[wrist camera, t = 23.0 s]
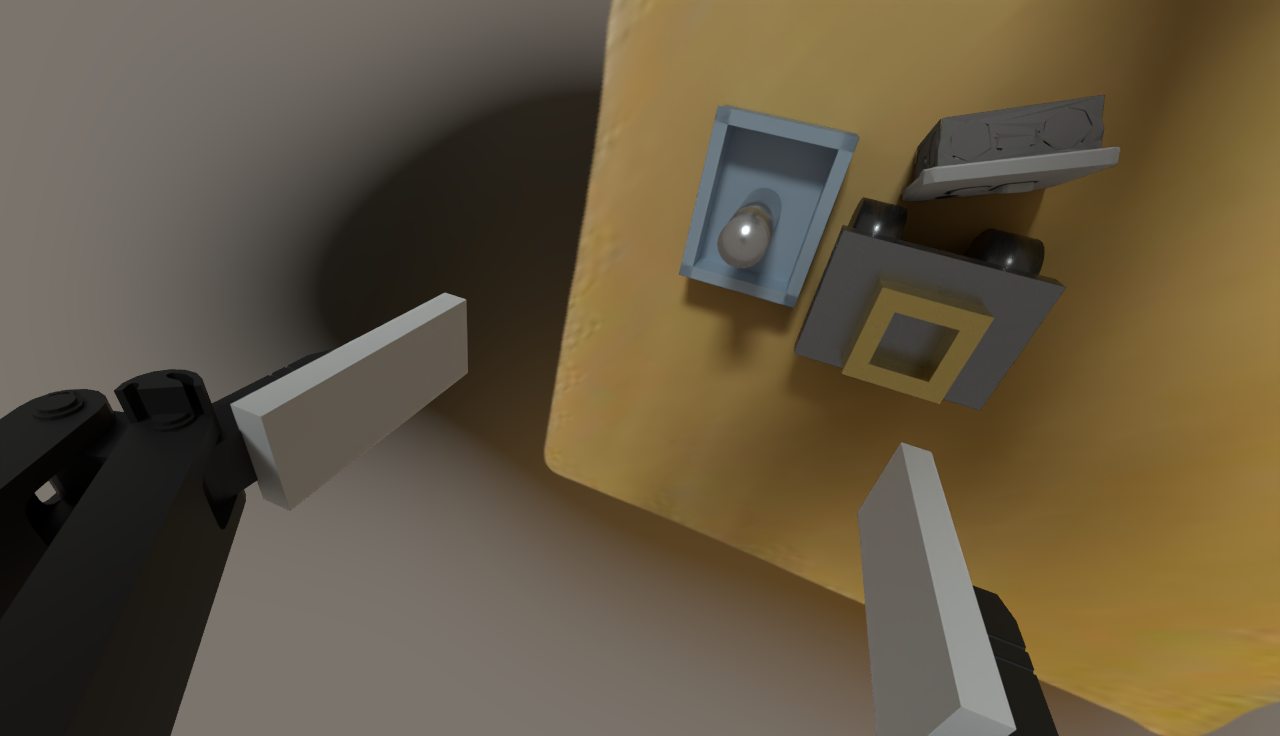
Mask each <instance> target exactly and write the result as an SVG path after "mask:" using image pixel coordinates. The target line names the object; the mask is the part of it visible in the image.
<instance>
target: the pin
mask: <svg viewBox="0 0 1280 736" xmlns="http://www.w3.org/2000/svg"><path fill="white" fill-rule="evenodd" d="M781 207H782V204H781V199H780V197H779V195H778V194H777V193H776V192H775V191H774V190H772V189H769V188H759V189H756V190H754V191H753V192H751V193H750V194H749V195H748V197H747V198H746V199H745V201H744V202H743V203H742V205H741V206H740V207H739V209H738V210H737V211H736V212H735V214H734V215H733V216H732V218H731V219H730V220H729V222H728V223H727V224H726V226H725V227H724V228H723V230H722V231H721V233H720V235H719V237H718V243H717V245H718V251H719V254H720V256H721V258H722V259H723V260H724V261H725V262H726V263H727V264H729V265H731V266H733V267H736V268H747V267H751V266H753V265H755V264H756V263H757V262H759V261H760V260H761V258H762V257H763V255H764V253H765V251H766V248H767V246H768V243H769V240H770V238H771V235H772V233H773V230H774V227H775V225H776V222H777V220H778V217H779V214H780V212H781Z"/></svg>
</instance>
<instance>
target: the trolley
mask: <svg viewBox="0 0 1280 736" xmlns="http://www.w3.org/2000/svg"><path fill="white" fill-rule="evenodd" d="M906 218H907V208H906V207H901V206H897V205H893V204H889V203H885V202H881V201H877V200H873V199H869V198H864V197H863V198H862V199H861V201H860V202H859V204H858V206H857V207H856V209H855V211H854V213H853V216H852V218H851V220H850V222H849V225H848V226H844V225H843V226H842V229H841V231H840V234H839V236H838V239H837V241H836V244H835V246H834V249H833V251H832V253H831V256H830V258H829V261H828V263H827V266H826V268H825V271H824V273H823V276H822V278H821V281H820V283H819V286H818V288H817V291H816V293H815V296H814V298H813V301H812V303H811V306H810V308H809V311H808V313H807V316H806V318H805V321H804V323H803V326H802V328H801V331H800V333H799V335H798V338H797V340H796V343H795V347H794V354H798V355H801V356H804V357H807V358H811V359H814V360H817V361H820V362H824V363H827V364H830V365H833V366H837V367H840V368H841V374H844V375H847V376H850V377H853V378H857V379H860V380H863V381H866V382H869V383H873V384H876V385H879V386H882V387H886V388H889V389H892V390H895V391H899V392H902V393H905V394H908V395H911V396H915V397H918V398H921V399H924V400H928V401H931V402H934V403H937V404H940V403H941V401H942V400H943V399H944V400H947V401H950V402H954V403H957V404H960V405H963V406H967V407H970V408H973V409H976V410H981V408H982V407H983V405H984V404H985V403H986V401H987V400H988V398H989V397H990V395H991V394H992V393H993V391H994V390H995V388H996V387H997V385H998V384H999V383H1000V381H1001V380H1002V378H1003V377H1004V375H1005V374H1006V373H1007V371H1008V370H1009V368H1010V367H1011V365H1012V364H1013V363H1014V361H1015V360H1016V358H1017V357H1018V355H1019V354H1020V353H1021V351H1022V350H1023V348H1024V347H1025V345H1026V344H1027V343H1028V341H1029V340H1030V338H1031V337H1032V335H1033V334H1034V333H1035V331H1036V330H1037V328H1038V327H1039V325H1040V324H1041V323H1042V321H1043V320H1044V318H1045V317H1046V315H1047V314H1048V313H1049V311H1050V310H1051V308H1052V307H1053V305H1054V304H1055V303H1056V301H1057V300H1058V298H1059V297H1060V295H1061V294H1062V293H1063V291H1064V290H1065V288H1066V287H1065V286H1064V285H1062V284H1061V283H1060V282H1059V281H1057V280H1056V279H1052V278H1048V277H1044V276H1040V275H1039V272H1040V270H1041V267H1042V264H1043V260H1044V245H1043V243H1042V242H1041V241H1040V240H1037V239H1033V238H1029V237H1025V236H1021V235H1017V234H1013V233H1009V232H1004V231H1000V230H996V229H991V228H990V229H987V230H985V231H984V232H983V233H981V234H980V235H979V236H978V237H977V238H976V239H975V241H974V242H973V243H972V245H971V246H970V247H969V249H968V251H967V252H966V254H965V256H962V255H958V254H954V253H950V252H946V251H942V250H938V249H934V248H930V247H927V246H923V245H919V244H915V243H911V242H907V241H903V240H900V238H901V236H902V233H903V230H904V226H905V223H906Z"/></svg>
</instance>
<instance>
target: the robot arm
mask: <svg viewBox="0 0 1280 736" xmlns="http://www.w3.org/2000/svg"><path fill="white" fill-rule="evenodd" d="M467 372H468V367H467V317H466V299H463V298H460V297H457V296H453V295H450V294H447V293H443V294H442V295H440V296H438V297H436V298H434V299H432V300H430V301H428V302H426V303H424V304H422V305H420V306H418V307H417V308H415V309H413V310H411V311H409V312H407V313H405V314H403V315H401V316H399V317H397V318H396V319H393V320H392V321H390V322H388V323H386V324H384V325H382V326H380V327H378V328H376V329H374V330H372V331H371V332H369V333H366V334H365V335H363V336H361V337H359V338H357V339H355V340H353V341H351V342H349V343H347V344H345V345H344V346H342V347H340V348H338V349H336V350H331V349H330V350H326V351H323V352H319V353H315V354H311V355H308V356H306V357H304V358H301V359H300V360H298V361H296V362H294V363H292V364H290V365H288V367H287V368H285V367H284V368H282V369H280V370H278V371H276V372H274V373H272V375H271V376H269V375H268V376H266V377H264V378H262V379H260V380H258V381H256V382H254V383H252V384H250V385H248V386H246V387H244V388H242V389H240V390H238V391H236V392H234V393H232V394H230V395H228V396H226V397H224V398H222V399H220V400H218V401H216V402H214V403H211V401H210V398H209V396H208V393H207V390H206V388H205V385H204V382H203V380H202V378H201V377H200V376H199V375H198V374H197V373H194V372H191V371H187V370H175V369H173V370H172V369H170V370H162V371H154V372H151V373H147V374H143V375H140V376H137V377H135V378H132V379H130V380H128V381H126V382H124V383H122V384H121V385H120V386H119V387H118V388H117V389H115V390H114V392H115V394H116V396H117V398H118V400H119V402H120V404H121V406H122V408H123V410H124V412H118V411H113V410H112V408H111V406H110V404H109V403H108V400H107V398H106V396H105V395H103V394H102V393H100V392H99V391H94V390H88V389H78V390H77V389H76V390H63V391H60V392H59V391H58V392H53V393H49V394H47V395H44V396H41V397H38V398H35V399H33V400H31V401H29V402H27V403H25V404H23V405H21V406H19V407H18V408H16V409H15V410H13V411H12V412H10V413H9V414H7V415H6V416H4V417H3V418H1V419H0V736H170V735H171V732H172V729H173V726H174V723H175V720H176V717H177V713H178V710H179V707H180V704H181V701H182V698H183V694H184V692H185V689H186V686H187V682H188V679H189V676H190V673H191V670H192V667H193V664H194V661H195V657H196V654H197V651H198V648H199V645H200V642H201V638H202V636H203V633H204V630H205V626H206V623H207V620H208V617H209V614H210V611H211V607H212V605H213V602H214V598H215V595H216V592H217V589H218V586H219V583H220V580H221V577H222V574H223V571H224V567H225V564H226V561H227V558H228V555H229V552H230V549H231V546H232V543H233V540H234V536H235V533H236V530H237V527H238V524H239V521H240V518H241V515H242V512H243V509H244V505H245V502H246V493H245V491H244V489H245V488H247V487H248V486H249V485H251V484H252V483H254V482H255V481H257V482H258V485H259V487H260V490H261V493H262V496H263V499H265V500H268V501H270V502H272V503H274V504H276V505H278V506H281V507H283V508H285V509H287V510H290V511H291V510H292V509H293V508H294V507H295V506H297V505H298V504H299V503H301V502H302V501H303V500H305V499H306V498H307V497H309V496H310V495H311V494H312V493H314V492H315V491H316V490H318V489H319V488H320V487H321V486H323V485H324V484H325V483H326V482H328V481H329V480H330V479H332V478H333V477H334V476H335V475H337V474H338V473H339V472H341V471H342V470H343V469H344V468H346V467H347V466H348V465H350V464H351V463H352V462H353V461H355V460H356V459H357V458H359V457H360V456H361V455H362V454H364V453H365V452H366V451H368V450H369V449H370V448H371V447H373V446H374V445H375V444H377V443H378V442H379V441H380V440H382V439H383V438H384V437H386V436H387V435H388V434H389V433H391V432H392V431H393V430H395V429H396V428H397V427H398V426H400V425H401V424H402V423H403V422H405V421H406V420H407V419H409V418H410V417H411V416H412V415H414V414H415V413H416V412H418V411H419V410H420V409H422V408H423V407H424V406H425V405H427V404H428V403H429V402H431V401H432V400H433V399H434V398H436V397H437V396H438V395H440V394H441V393H442V392H443V391H445V390H446V389H447V388H449V387H450V386H451V385H452V384H454V383H455V382H456V381H458V380H459V379H460V378H461V377H463V376H464V375H465V374H467ZM48 480H49V482H50V483H51V485H52V486H53V488H54V489H55V491H56V492H57V493H56V494H55V495H53V496H52V497H51V498H50V499H49V500H47V501H45V502H41V501H40V500H39V499H38V497H37V496H36V494H35V492H36V491H37V490H38V489H39V488H40V487H41V486H43V485H44V484H45V483H46V482H47V481H48ZM858 523H859V535H860V547H861V559H862V571H863V583H864V594H865V606H866V617H867V629H868V641H869V653H870V665H871V677H872V689H873V700H874V713H875V725H876V736H1059V735H1058V733H1057V730H1056V727H1055V724H1054V722H1053V719H1052V716H1051V714H1050V711H1049V709H1048V706H1047V703H1046V700H1045V697H1044V695H1043V692H1042V689H1041V687H1040V684H1039V681H1038V678H1037V676H1036V675H1035V674H1033V670H1034V668H1033V665H1032V662H1031V660H1030V657H1029V654H1028V652H1025V648H1026V646H1025V643H1024V641H1023V638H1022V635H1021V632H1020V630H1019V627H1018V624H1017V622H1016V620H1015V619H1014V617H1013V616H1012V614H1011V613H1010V612H1009V610H1008V609H1007V607H1006V606H1005V605H1004V603H1003V602H1002V600H1001V599H1000V598H999V596H998V595H997V594H995V593H992V592H989V591H986V590H984V589H981V588H978V587H976V586H973V585H972V583H971V580H970V576H969V573H968V570H967V567H966V563H965V560H964V557H963V554H962V550H961V547H960V544H959V541H958V537H957V534H956V531H955V527H954V524H953V521H952V518H951V514H950V511H949V508H948V505H947V501H946V498H945V495H944V492H943V488H942V485H941V482H940V479H939V475H938V472H937V469H936V466H935V462H934V459H933V456H932V452H930V451H927V450H924V449H921V448H918V447H915V446H912V445H908V444H905V443H902V442H901V443H900V444H899V446H898V448H897V449H896V451H895V453H894V454H893V456H892V457H891V459H890V461H889V462H888V464H887V465H886V467H885V469H884V470H883V472H882V474H881V475H880V477H879V478H878V480H877V482H876V483H875V485H874V487H873V488H872V490H871V491H870V493H869V495H868V496H867V498H866V500H865V501H864V503H863V504H862V506H861V508H860V509H859V511H858Z"/></svg>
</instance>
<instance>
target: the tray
mask: <svg viewBox="0 0 1280 736" xmlns="http://www.w3.org/2000/svg"><path fill="white" fill-rule="evenodd" d="M858 140H859V136H858V135H857V134H856V133H851V132H847V131H842V130H837V129H833V128H828V127H824V126H819V125H815V124H810V123H806V122H801V121H797V120H792V119H788V118H783V117H778V116H774V115H769V114H765V113H760V112H756V111H751V110H747V109H742V108H738V107H733V106H728V105H724V106H718V109H717V113H716V117H715V122H714V126H713V130H712V135H711V139H710V143H709V148H708V152H707V156H706V161H705V165H704V169H703V173H702V178H701V182H700V186H699V191H698V195H697V199H696V204H695V208H694V212H693V216H692V221H691V225H690V229H689V234H688V238H687V242H686V247H685V251H684V255H683V260H682V264H681V268H680V272H679V275H682V276H685V277H689V278H692V279H696V280H699V281H703V282H706V283H710V284H713V285H716V286H720V287H723V288H727V289H730V290H734V291H737V292H741V293H744V294H747V295H751V296H754V297H758V298H761V299H765V300H768V301H772V302H775V303H778V304H782V305H785V306H789V307H792V308H794V307H795V304H796V301H797V299H798V296H799V294H800V291H801V288H802V286H803V283H804V281H805V278H806V275H807V273H808V270H809V267H810V265H811V262H812V260H813V257H814V254H815V252H816V249H817V247H818V244H819V241H820V239H821V236H822V234H823V231H824V228H825V226H826V223H827V221H828V218H829V215H830V213H831V210H832V207H833V205H834V202H835V200H836V197H837V194H838V192H839V189H840V187H841V184H842V181H843V179H844V176H845V174H846V171H847V168H848V166H849V163H850V160H851V158H852V155H853V153H854V150H855V147H856V145H857V142H858ZM759 188H769V189H772V190H774V191H775V192H776V193H777V194H778V195H779V197H780V199H781V204H782V207H781V212H780V214H779V217H778V220H777V222H776V225H775V227H774V230H773V233H772V235H771V238H770V240H769V243H768V246H767V248H766V251H765V253H764V255H763V257H762V258H761V260H760V261H759V262H757V263H756V264H755V265H753V266H751V267H747V268H736V267H733V266H731V265H729V264H727V263H726V262H725V261H724V260H723V259H722V258H721V256H720V254H719V251H718V245H717V243H718V237H719V235H720V233H721V231H722V230H723V228H724V227H725V226H726V224H727V223H728V222H729V220H730V219H731V218H732V216H733V215H734V214H735V212H736V211H737V210H738V209H739V207H740V206H741V205H742V203H743V202H744V201H745V199H746V198H747V197H748V195H749V194H750V193H751V192H753V191H754V190H756V189H759Z"/></svg>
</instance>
